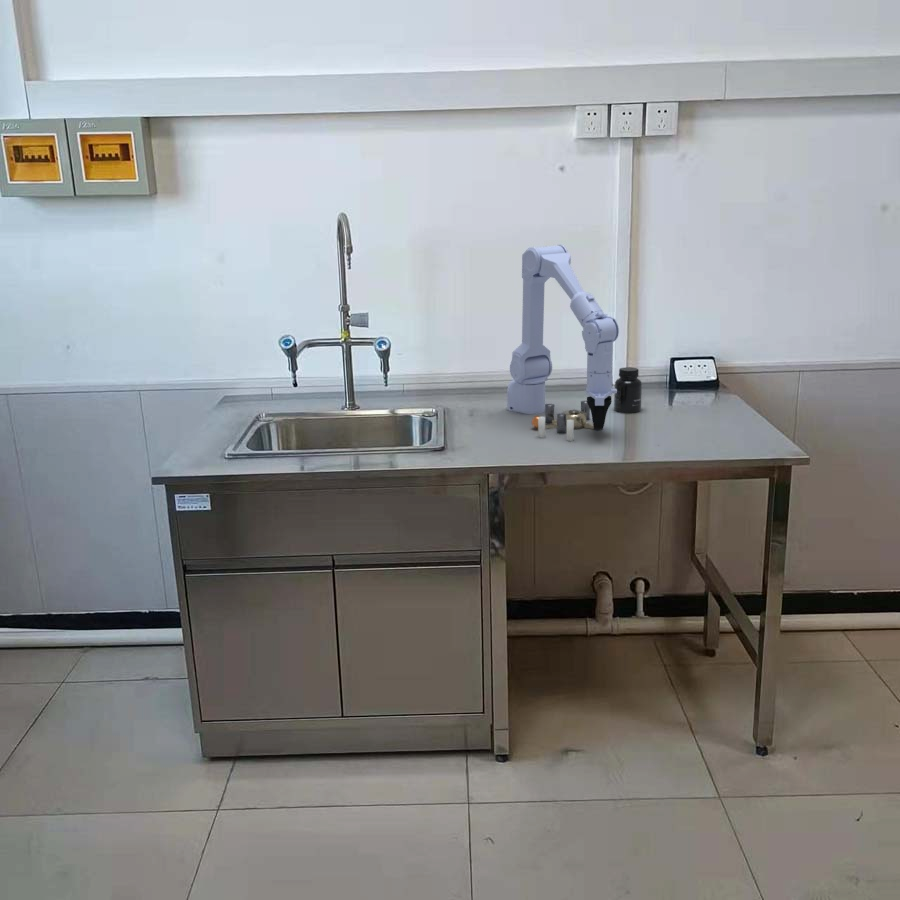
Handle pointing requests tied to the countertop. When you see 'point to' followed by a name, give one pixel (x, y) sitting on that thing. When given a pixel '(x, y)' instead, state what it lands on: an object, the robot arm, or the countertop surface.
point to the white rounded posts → (569, 428)
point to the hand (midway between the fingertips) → (598, 427)
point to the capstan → (566, 418)
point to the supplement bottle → (628, 391)
